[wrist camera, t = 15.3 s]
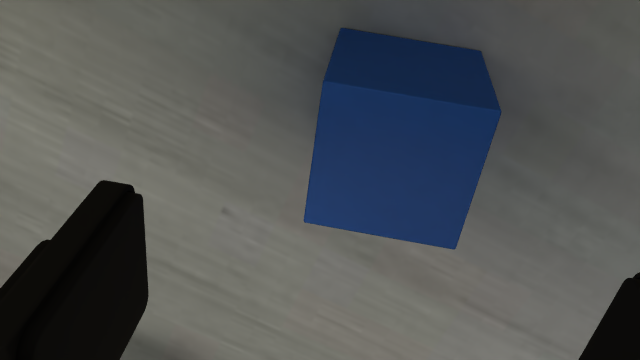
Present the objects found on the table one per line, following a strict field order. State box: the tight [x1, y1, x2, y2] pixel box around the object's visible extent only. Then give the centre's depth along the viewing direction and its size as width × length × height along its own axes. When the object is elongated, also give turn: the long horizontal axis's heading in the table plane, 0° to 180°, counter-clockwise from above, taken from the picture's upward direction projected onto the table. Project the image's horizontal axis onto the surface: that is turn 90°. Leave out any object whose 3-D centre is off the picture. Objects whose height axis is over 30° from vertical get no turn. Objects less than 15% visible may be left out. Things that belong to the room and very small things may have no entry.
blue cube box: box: [304, 28, 501, 249], centre depth 17 cm, size 4×4×4 cm
